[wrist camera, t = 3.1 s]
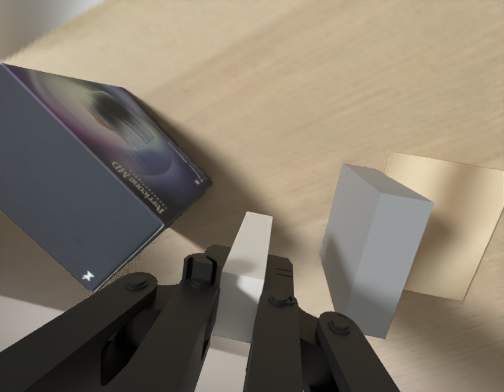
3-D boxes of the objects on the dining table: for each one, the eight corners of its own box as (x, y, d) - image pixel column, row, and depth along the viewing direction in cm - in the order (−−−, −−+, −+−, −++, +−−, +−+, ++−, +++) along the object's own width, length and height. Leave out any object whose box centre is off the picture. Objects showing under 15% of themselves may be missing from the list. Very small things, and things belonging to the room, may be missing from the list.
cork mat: (353, 277, 25) (354, 279, 24) (390, 151, 21) (392, 152, 21) (459, 298, 24) (462, 301, 24) (513, 172, 21) (518, 173, 21)
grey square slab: (319, 254, 24) (339, 329, 16) (342, 163, 22) (380, 192, 14) (349, 260, 24) (386, 339, 16) (376, 169, 22) (436, 202, 13)
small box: (218, 179, 24) (171, 226, 14) (168, 227, 25) (92, 301, 15) (124, 81, 22) (-6, 53, 12) (77, 139, 24) (-71, 155, 14)
